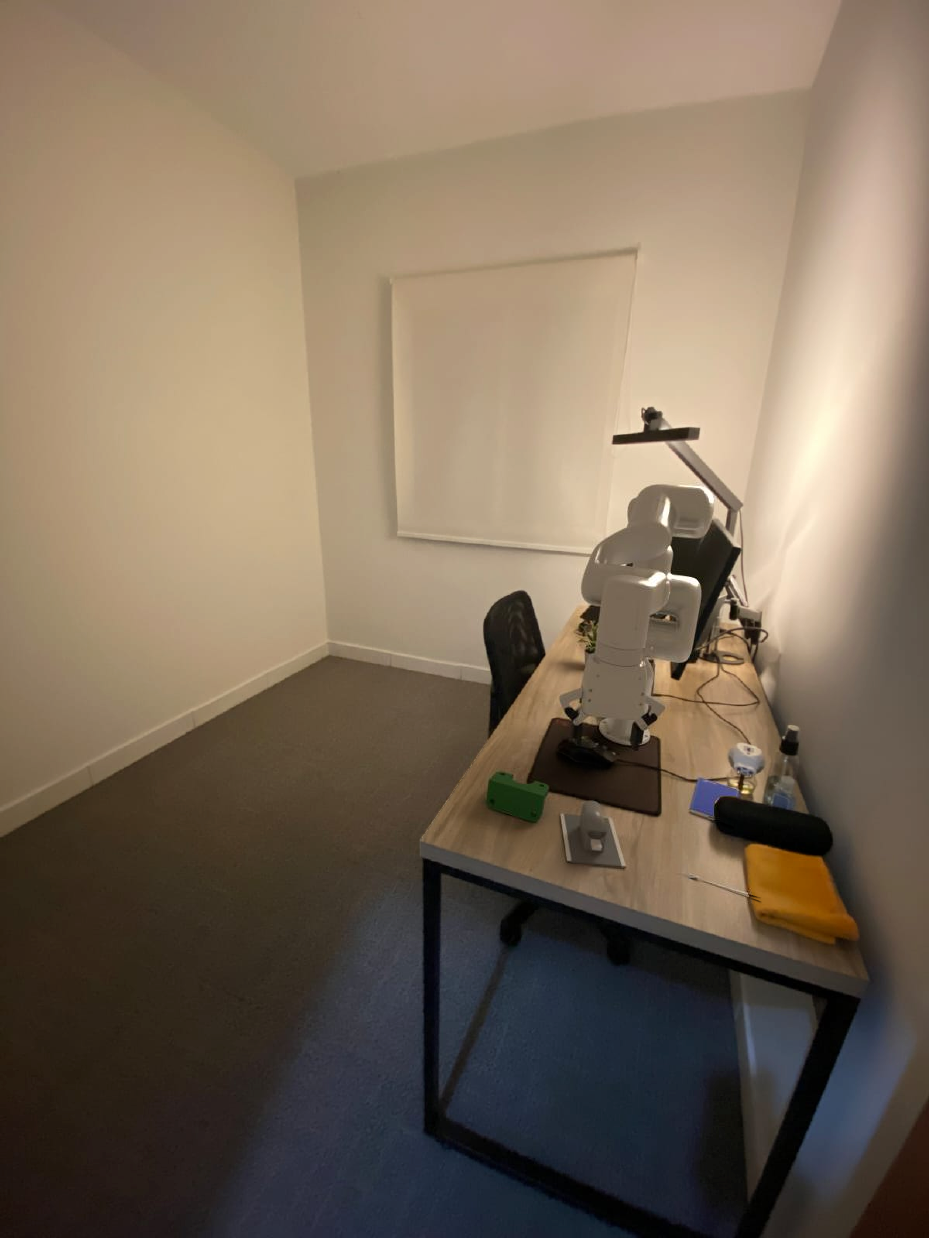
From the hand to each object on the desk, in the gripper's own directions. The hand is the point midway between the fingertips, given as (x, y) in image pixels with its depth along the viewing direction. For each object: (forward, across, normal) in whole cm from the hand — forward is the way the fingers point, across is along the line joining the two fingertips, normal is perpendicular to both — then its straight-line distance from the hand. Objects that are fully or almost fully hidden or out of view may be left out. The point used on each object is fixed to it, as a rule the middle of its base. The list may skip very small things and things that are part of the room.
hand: (605, 744), depth 85 cm
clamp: (+21, +14, -8) cm, 26 cm away
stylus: (+21, -17, +7) cm, 28 cm away
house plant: (+21, -13, -83) cm, 86 cm away
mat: (+20, 0, 0) cm, 20 cm away
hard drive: (+21, -28, -14) cm, 38 cm away
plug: (+20, 0, 0) cm, 20 cm away
